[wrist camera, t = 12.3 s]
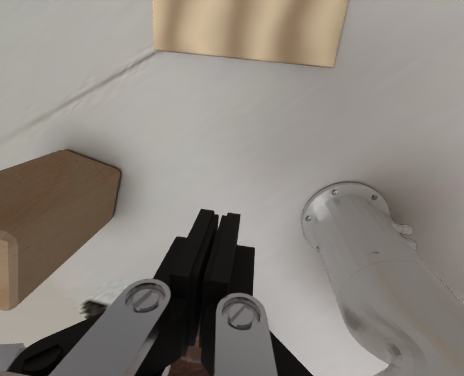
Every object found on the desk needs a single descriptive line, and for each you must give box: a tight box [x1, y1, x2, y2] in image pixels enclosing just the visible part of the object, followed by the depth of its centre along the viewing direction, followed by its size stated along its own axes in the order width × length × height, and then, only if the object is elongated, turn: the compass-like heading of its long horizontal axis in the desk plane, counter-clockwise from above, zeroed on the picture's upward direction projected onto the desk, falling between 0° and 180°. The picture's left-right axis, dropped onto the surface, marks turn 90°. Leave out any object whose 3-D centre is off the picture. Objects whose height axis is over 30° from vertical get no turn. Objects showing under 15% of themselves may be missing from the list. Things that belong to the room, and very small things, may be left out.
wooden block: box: [0, 150, 120, 310], centre depth 33 cm, size 10×10×20 cm
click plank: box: [153, 0, 348, 68], centre depth 30 cm, size 22×10×1 cm, turn 85°
